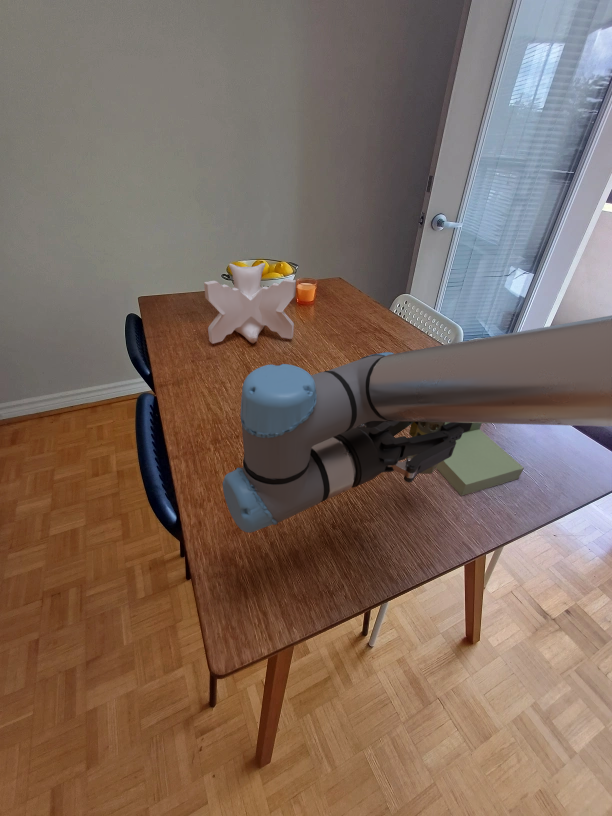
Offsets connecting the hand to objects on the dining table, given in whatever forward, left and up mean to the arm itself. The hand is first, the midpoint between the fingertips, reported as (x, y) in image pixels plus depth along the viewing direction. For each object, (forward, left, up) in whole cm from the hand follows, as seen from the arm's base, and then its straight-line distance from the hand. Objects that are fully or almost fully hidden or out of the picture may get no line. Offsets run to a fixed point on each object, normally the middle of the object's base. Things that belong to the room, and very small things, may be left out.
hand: (458, 414), depth 63 cm
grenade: (-1, +5, -8) cm, 10 cm away
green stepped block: (+4, -12, -18) cm, 22 cm away
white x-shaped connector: (+74, +15, -18) cm, 78 cm away
